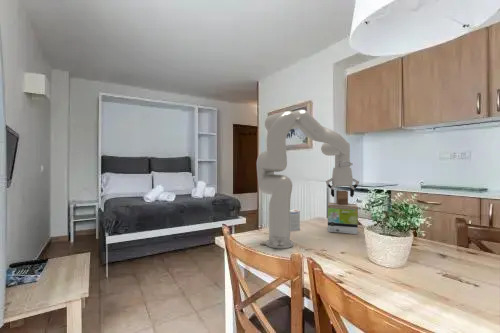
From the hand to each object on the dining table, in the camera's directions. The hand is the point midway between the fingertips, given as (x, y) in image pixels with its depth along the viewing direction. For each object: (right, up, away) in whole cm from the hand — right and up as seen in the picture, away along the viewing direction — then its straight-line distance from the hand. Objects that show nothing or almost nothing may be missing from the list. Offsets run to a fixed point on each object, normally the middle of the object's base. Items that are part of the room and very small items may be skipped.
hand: (342, 196), depth 142 cm
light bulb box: (-27, -19, +6) cm, 34 cm away
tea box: (0, -19, 0) cm, 19 cm away
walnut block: (0, -4, 0) cm, 4 cm away
